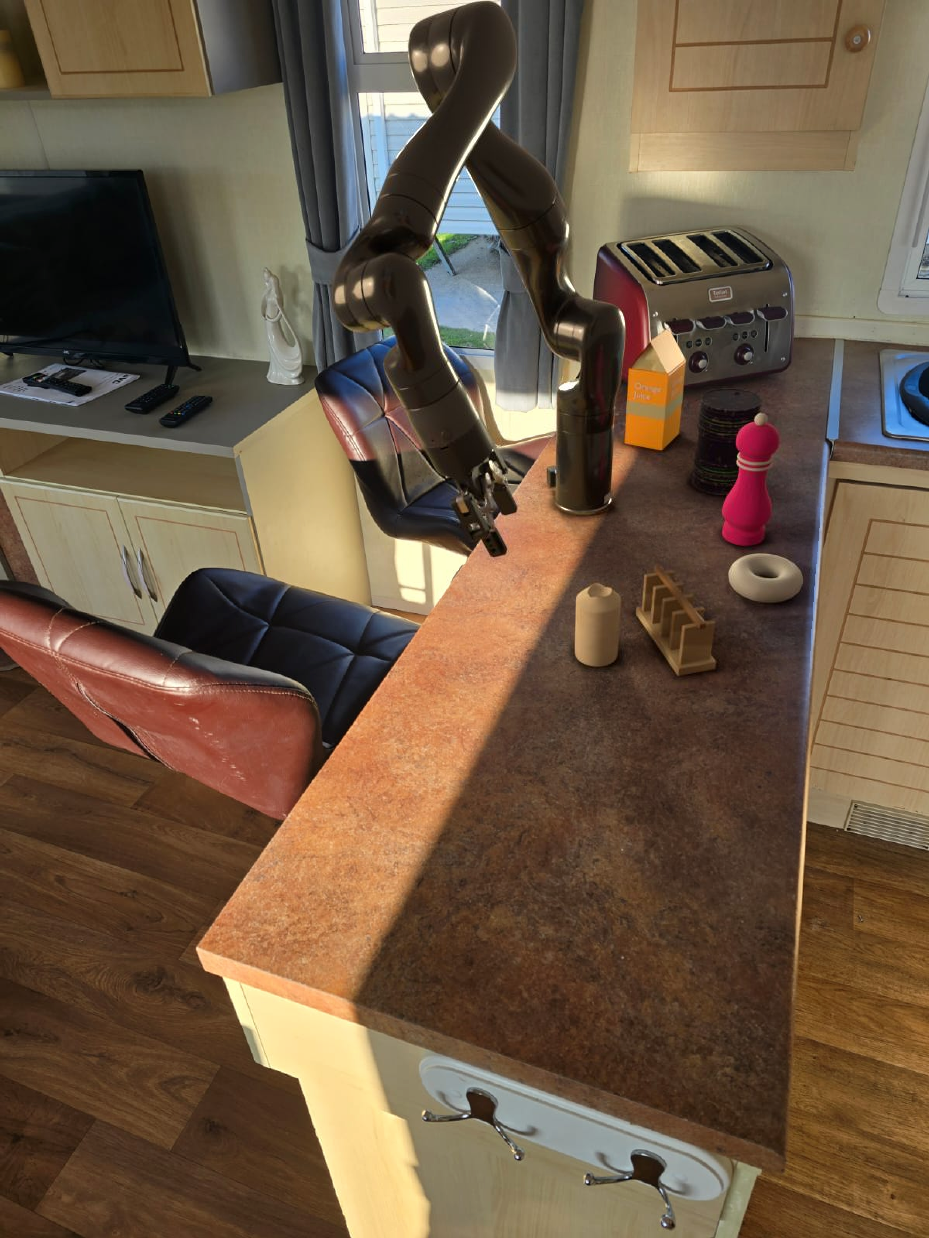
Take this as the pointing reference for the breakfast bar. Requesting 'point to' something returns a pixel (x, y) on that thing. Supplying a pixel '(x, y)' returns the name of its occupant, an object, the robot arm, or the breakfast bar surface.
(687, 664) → the toast rack
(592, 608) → the candle
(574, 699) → the breakfast bar surface
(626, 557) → the breakfast bar surface
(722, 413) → the storage jar
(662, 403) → the orange juice
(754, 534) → the pepper mill
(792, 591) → the donut
